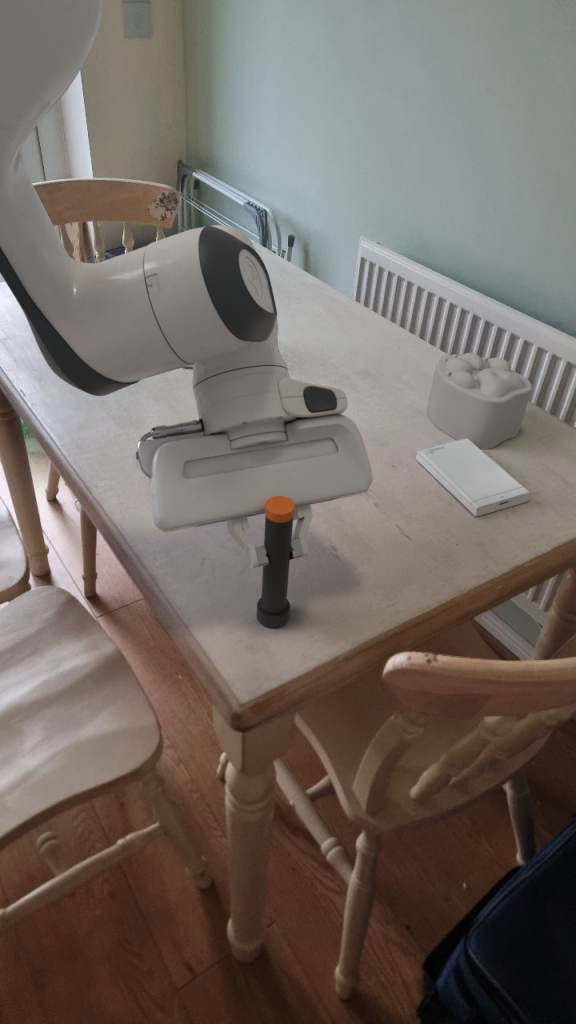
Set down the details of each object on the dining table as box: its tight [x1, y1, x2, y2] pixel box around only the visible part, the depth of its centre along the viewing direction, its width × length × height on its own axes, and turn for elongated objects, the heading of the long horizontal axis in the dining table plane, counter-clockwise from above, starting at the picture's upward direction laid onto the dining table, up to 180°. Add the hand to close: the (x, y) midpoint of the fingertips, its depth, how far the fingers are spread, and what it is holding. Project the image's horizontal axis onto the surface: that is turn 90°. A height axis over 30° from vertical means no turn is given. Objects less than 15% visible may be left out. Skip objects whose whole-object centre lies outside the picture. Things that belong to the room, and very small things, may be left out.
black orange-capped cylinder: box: [256, 496, 295, 629], centre depth 63 cm, size 3×3×14 cm
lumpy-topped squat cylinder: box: [426, 352, 533, 450], centre depth 95 cm, size 10×13×9 cm
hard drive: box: [415, 439, 532, 517], centre depth 86 cm, size 2×8×12 cm
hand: (279, 562), depth 62 cm, fingers closed on black orange-capped cylinder, 2 cm apart
